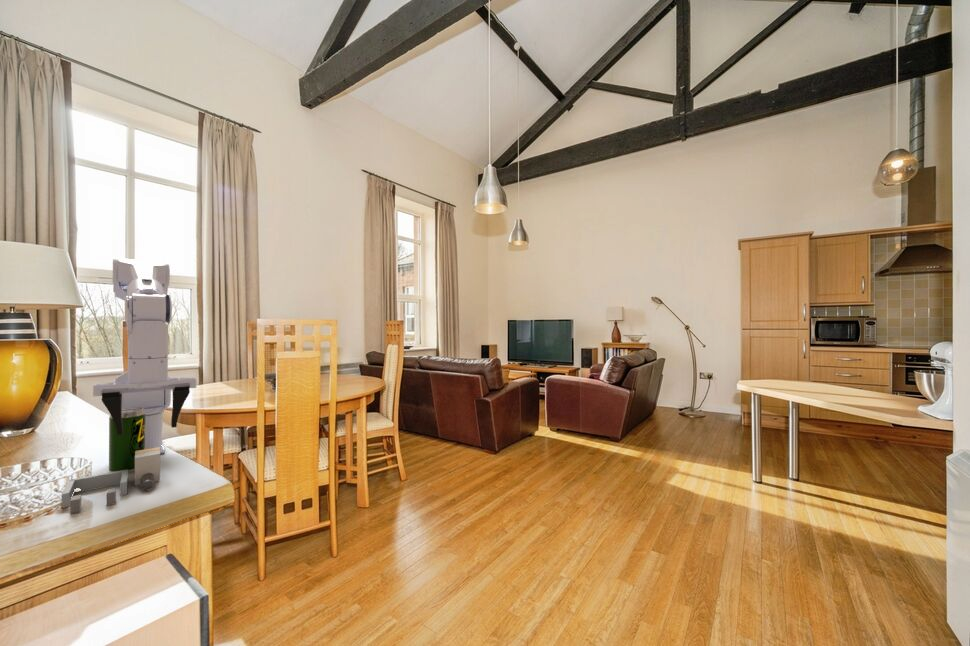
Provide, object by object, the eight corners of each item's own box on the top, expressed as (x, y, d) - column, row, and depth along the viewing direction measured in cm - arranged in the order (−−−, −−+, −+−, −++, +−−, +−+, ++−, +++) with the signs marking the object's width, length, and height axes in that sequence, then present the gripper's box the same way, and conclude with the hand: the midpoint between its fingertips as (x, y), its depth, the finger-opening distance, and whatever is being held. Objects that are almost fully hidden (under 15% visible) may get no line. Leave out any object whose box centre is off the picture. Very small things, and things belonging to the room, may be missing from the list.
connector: (135, 477, 74) (135, 450, 74) (159, 472, 76) (159, 446, 76) (133, 494, 67) (134, 465, 67) (160, 489, 69) (160, 460, 69)
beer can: (105, 477, 74) (105, 414, 74) (112, 468, 78) (112, 408, 78) (142, 471, 77) (143, 411, 77) (147, 463, 81) (147, 406, 81)
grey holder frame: (68, 492, 67) (68, 479, 67) (128, 481, 72) (128, 469, 72) (57, 516, 59) (57, 502, 59) (125, 501, 64) (125, 488, 64)
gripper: (91, 361, 66) (90, 442, 66) (198, 357, 75) (197, 427, 75) (95, 358, 71) (95, 433, 71) (194, 354, 80) (194, 420, 80)
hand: (147, 429), depth 73 cm, fingers open, 7 cm apart
